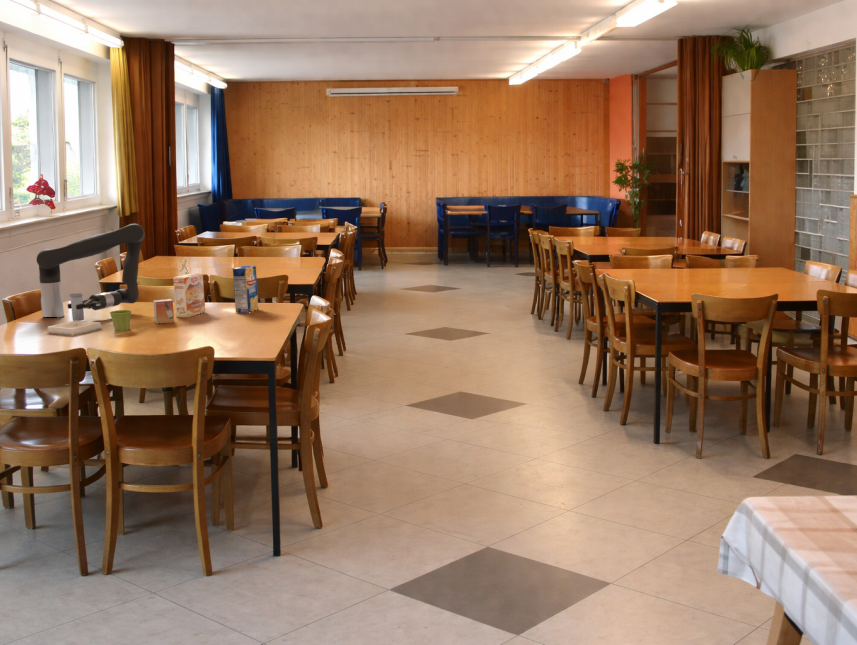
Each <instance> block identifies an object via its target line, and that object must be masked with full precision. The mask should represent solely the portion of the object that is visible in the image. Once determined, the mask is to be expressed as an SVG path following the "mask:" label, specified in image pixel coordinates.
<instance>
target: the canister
mask: <svg viewBox="0 0 857 645" xmlns="http://www.w3.org/2000/svg"><path fill="white" fill-rule="evenodd" d="M83 296H84V295H83V293H80V292H79V293H71V294H69V297H70V303H71V317H72V321H75V320H79V321H85V314H84V313H85V312H84V309H79V310H78V309H76V305H78V304H83V300H84V299H83Z"/></svg>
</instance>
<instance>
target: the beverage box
mask: <svg viewBox="0 0 857 645" xmlns="http://www.w3.org/2000/svg"><path fill="white" fill-rule="evenodd" d="M232 276H233V289H234V290H233V291H234V305H235V307H234V308H235V313H236V312H237V313H236V314H250V313H249V312H251V311H253V312H255V311H254V310H256V309H258V310H259V299H258V298H259V296H258V294H259V293H258V280H257V279H258V278H257V266H256V265H242V266H238V267H234V268H232ZM256 311H257V310H256ZM251 313H252V312H251Z"/></svg>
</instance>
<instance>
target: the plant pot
mask: <svg viewBox="0 0 857 645" xmlns="http://www.w3.org/2000/svg"><path fill="white" fill-rule="evenodd" d="M132 312H133V311H132V310H131V309H129V310H128V309H121V310H113V311H109V314H110V317H111V319H112V324H113V329H114V331H115V332H126V331H129V330H130V327H131V316H132Z"/></svg>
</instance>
